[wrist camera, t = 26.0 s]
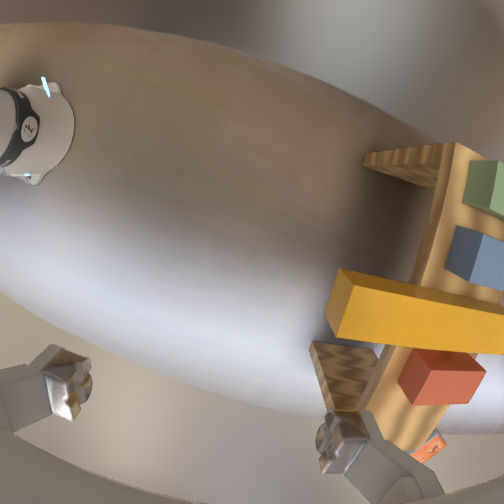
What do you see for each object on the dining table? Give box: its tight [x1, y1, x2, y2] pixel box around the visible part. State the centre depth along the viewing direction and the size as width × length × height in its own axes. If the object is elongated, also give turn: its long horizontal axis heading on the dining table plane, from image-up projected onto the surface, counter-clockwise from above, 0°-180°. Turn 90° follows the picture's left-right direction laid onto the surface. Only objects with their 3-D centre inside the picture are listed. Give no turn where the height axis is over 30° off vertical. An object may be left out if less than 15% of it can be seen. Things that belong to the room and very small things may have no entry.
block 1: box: [397, 348, 486, 406], centre depth 25 cm, size 8×4×4 cm, turn 77°
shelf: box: [309, 142, 504, 451], centre depth 37 cm, size 12×34×24 cm, turn 167°
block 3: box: [444, 225, 504, 292], centre depth 22 cm, size 8×4×4 cm, turn 77°
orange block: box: [324, 268, 504, 355], centre depth 23 cm, size 20×4×4 cm, turn 77°
